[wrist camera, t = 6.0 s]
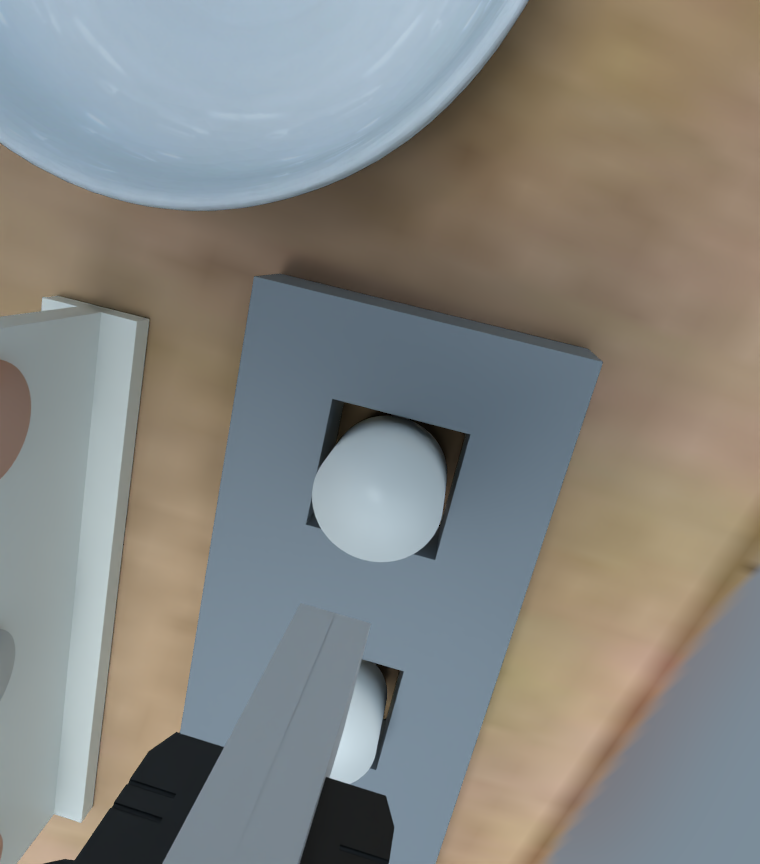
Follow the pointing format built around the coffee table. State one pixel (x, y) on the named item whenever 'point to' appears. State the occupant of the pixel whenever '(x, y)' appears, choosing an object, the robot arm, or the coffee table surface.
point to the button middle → (361, 725)
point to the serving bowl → (231, 90)
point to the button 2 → (381, 489)
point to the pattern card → (60, 549)
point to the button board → (397, 580)
